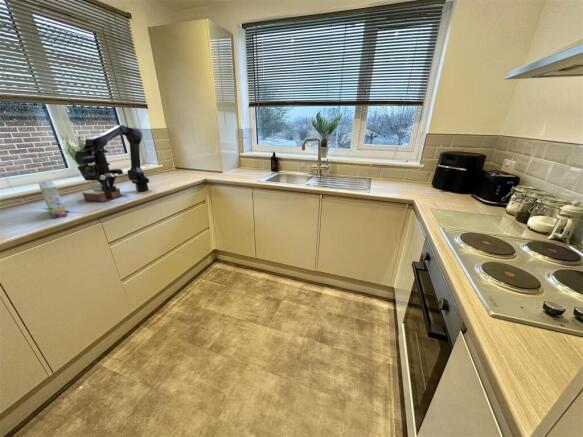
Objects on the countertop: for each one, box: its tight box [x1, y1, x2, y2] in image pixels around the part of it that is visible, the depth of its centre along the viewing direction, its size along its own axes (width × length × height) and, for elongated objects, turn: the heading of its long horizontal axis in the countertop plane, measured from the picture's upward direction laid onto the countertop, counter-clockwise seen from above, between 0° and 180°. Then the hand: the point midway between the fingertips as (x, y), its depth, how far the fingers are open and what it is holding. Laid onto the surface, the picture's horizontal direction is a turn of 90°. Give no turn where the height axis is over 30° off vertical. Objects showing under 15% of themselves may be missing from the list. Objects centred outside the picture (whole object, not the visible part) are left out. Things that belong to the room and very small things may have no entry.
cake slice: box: [82, 190, 106, 202], centre depth 139 cm, size 12×4×5 cm, turn 75°
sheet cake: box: [93, 186, 122, 198], centre depth 147 cm, size 12×6×5 cm, turn 78°
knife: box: [89, 182, 117, 192], centre depth 137 cm, size 17×2×4 cm, turn 75°
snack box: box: [38, 180, 67, 219], centre depth 121 cm, size 21×6×15 cm, turn 48°
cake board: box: [78, 194, 128, 204], centre depth 144 cm, size 20×16×1 cm
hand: (109, 189), depth 136 cm, fingers closed on knife, 2 cm apart
